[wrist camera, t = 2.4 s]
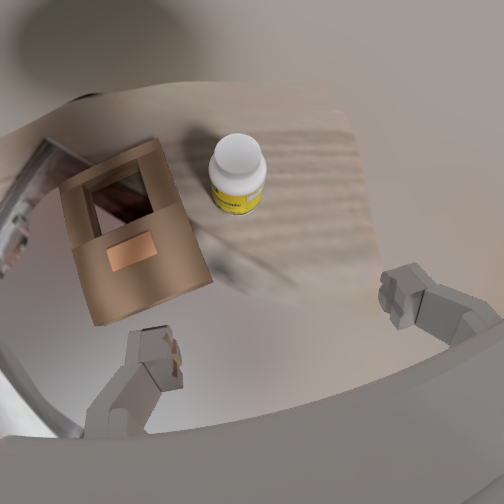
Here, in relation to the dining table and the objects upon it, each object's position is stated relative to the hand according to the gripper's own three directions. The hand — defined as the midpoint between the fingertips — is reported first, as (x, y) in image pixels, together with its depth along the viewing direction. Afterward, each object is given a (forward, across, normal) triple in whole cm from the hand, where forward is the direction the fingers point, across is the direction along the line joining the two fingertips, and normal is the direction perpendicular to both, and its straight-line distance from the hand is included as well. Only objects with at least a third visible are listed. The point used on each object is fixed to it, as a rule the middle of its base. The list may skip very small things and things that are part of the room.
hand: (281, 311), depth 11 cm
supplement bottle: (+25, -1, +6) cm, 26 cm away
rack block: (+24, +11, +7) cm, 27 cm away
